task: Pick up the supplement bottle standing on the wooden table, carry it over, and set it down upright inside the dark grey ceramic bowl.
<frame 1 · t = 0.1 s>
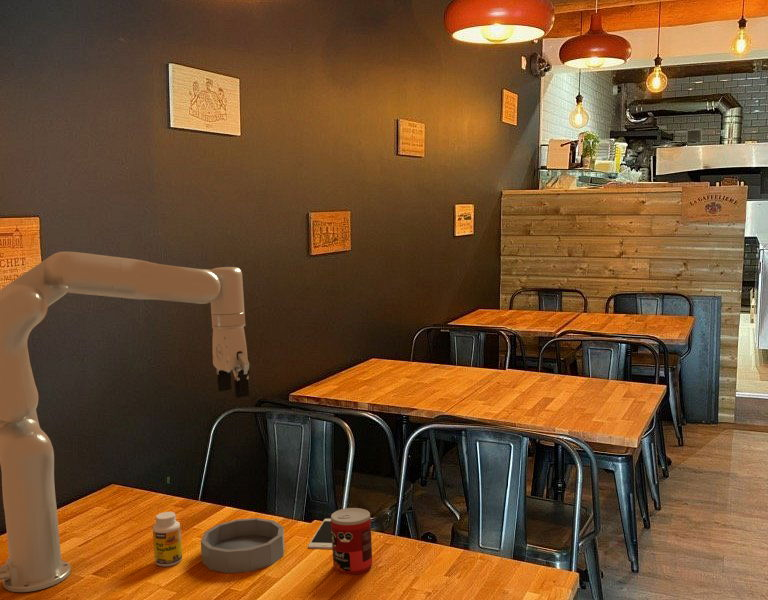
hand: (233, 393, 177), 31 cm above the table, tool pointing down, fingers open, 9 cm apart
bowl: (244, 554, 162), on the table
smartphone: (332, 536, 171), on the table
canned food: (353, 567, 154), on the table
supplement bottle: (169, 562, 160), on the table
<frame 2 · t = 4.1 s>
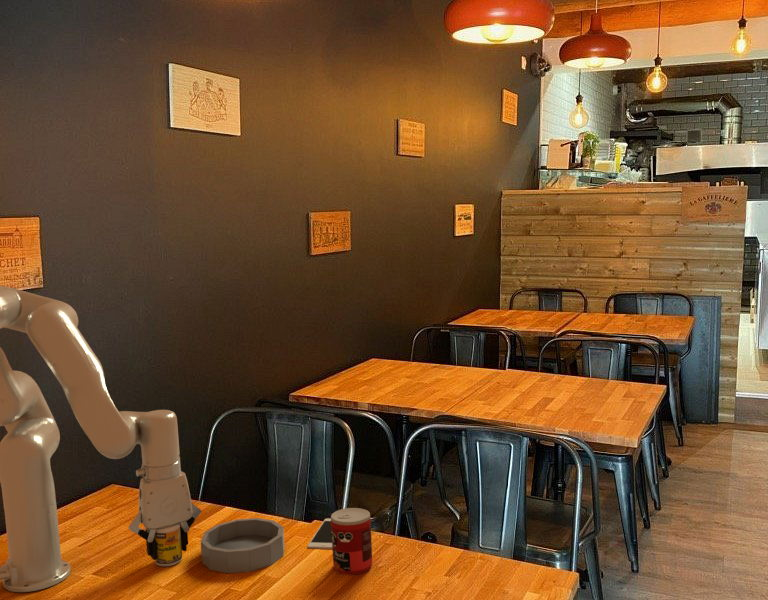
hand: (168, 552, 160), 2 cm above the table, tool pointing down, fingers closed on supplement bottle, 5 cm apart
supplement bottle: (169, 562, 160), on the table, touching gripper
everything else where it was.
when the fingers open (5 cm above the table, at t = 10.3 s): supplement bottle drops 2 cm, resting on bowl.
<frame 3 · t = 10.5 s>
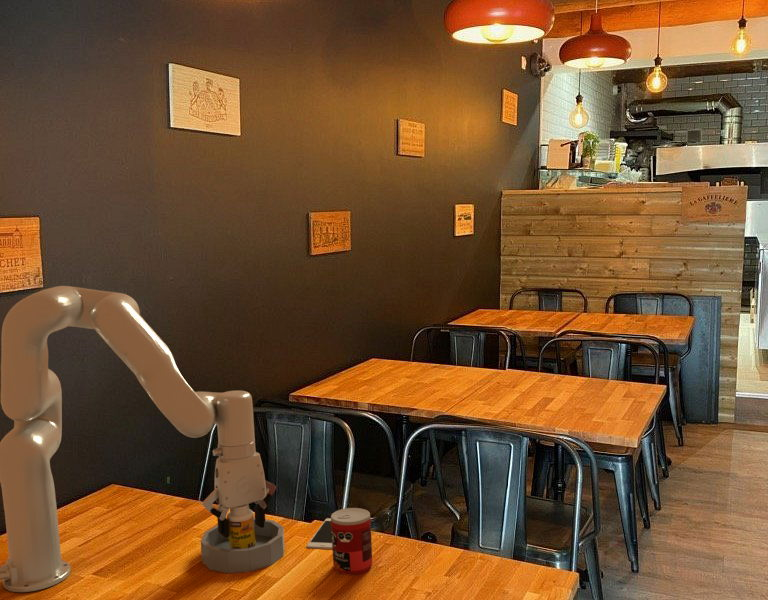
hand: (242, 530, 161), 5 cm above the table, tool pointing down, fingers open, 7 cm apart
supplement bottle: (243, 550, 162), point 1 cm above the table, touching bowl
everything else where it was.
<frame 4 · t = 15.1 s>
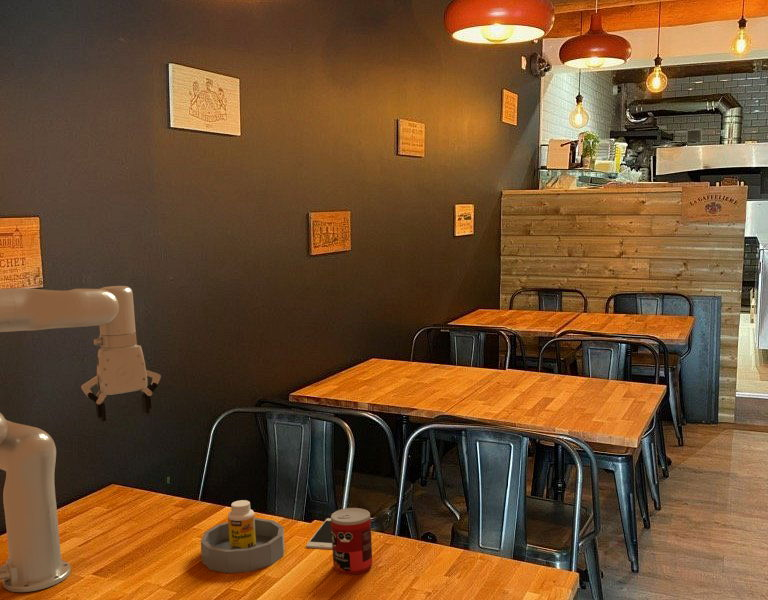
hand: (124, 416, 171), 28 cm above the table, tool pointing down, fingers open, 9 cm apart
nothing on the table moved.
at the end: supplement bottle inside the target area on the bowl (0.1 cm from its centre), point 0.8 cm above the bowl's base; supplement bottle tilted 1°; the gripper is holding nothing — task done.
